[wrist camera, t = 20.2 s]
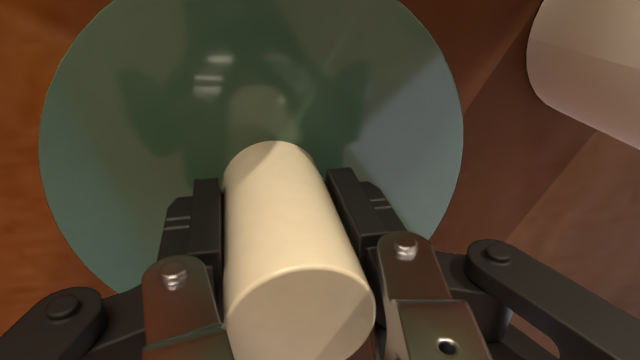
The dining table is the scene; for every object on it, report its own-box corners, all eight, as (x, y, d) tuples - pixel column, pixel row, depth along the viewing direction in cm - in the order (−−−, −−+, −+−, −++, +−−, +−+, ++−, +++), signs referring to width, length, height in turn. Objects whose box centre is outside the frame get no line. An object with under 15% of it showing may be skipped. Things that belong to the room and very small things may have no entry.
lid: (-19, -56, 10) (-375, -55, 4) (481, -46, 13) (725, -38, 7) (106, 330, 17) (40, 555, 11) (421, 287, 19) (516, 448, 13)
